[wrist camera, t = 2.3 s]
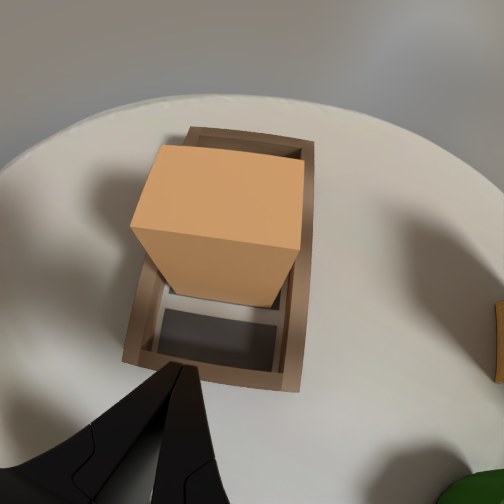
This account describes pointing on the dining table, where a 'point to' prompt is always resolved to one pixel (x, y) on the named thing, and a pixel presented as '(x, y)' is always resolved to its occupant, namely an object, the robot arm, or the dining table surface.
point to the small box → (500, 342)
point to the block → (222, 222)
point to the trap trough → (224, 313)
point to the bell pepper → (476, 489)
